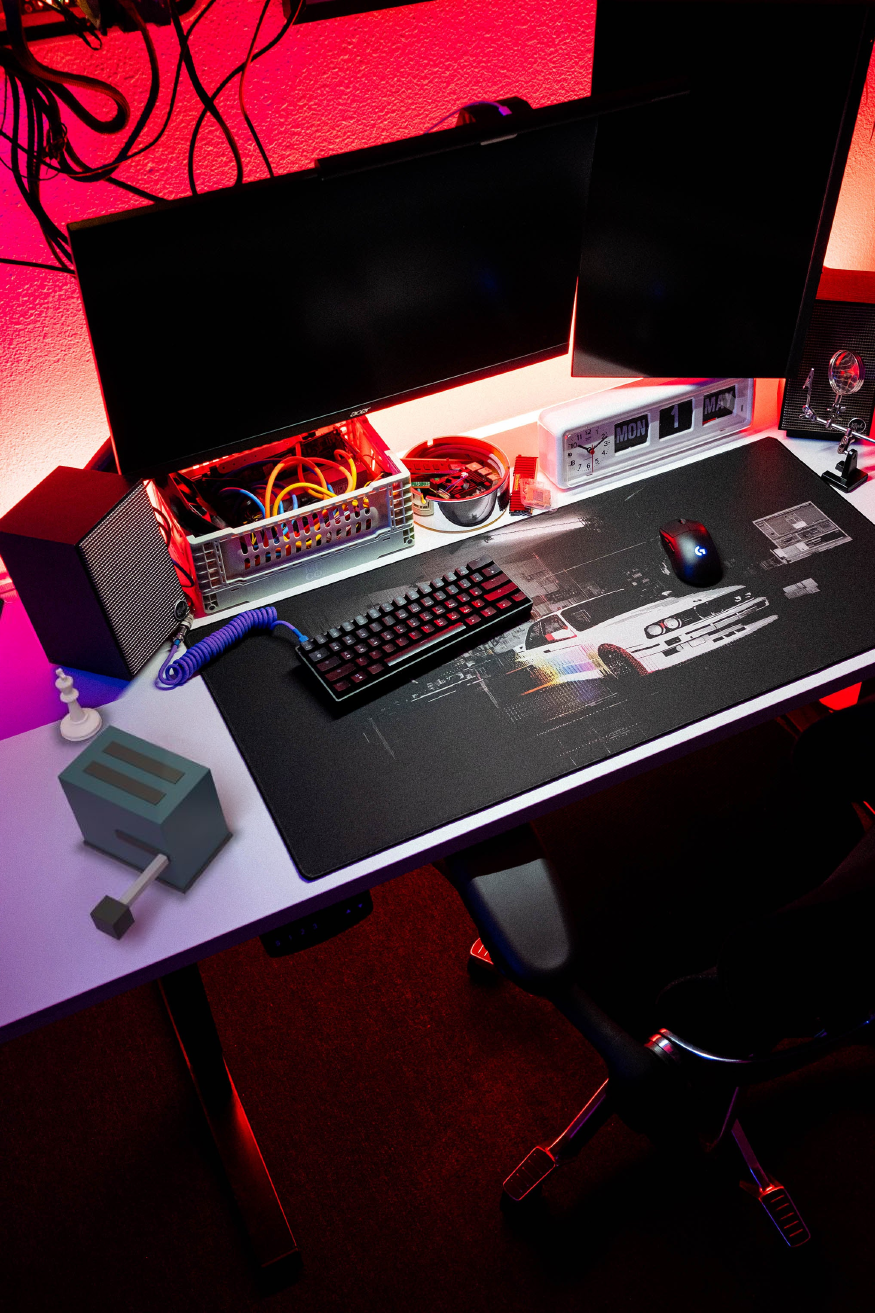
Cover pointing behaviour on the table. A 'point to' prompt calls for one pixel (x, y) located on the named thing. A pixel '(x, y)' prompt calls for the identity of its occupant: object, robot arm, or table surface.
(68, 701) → the chess piece
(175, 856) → the toaster
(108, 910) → the slider
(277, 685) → the table surface
